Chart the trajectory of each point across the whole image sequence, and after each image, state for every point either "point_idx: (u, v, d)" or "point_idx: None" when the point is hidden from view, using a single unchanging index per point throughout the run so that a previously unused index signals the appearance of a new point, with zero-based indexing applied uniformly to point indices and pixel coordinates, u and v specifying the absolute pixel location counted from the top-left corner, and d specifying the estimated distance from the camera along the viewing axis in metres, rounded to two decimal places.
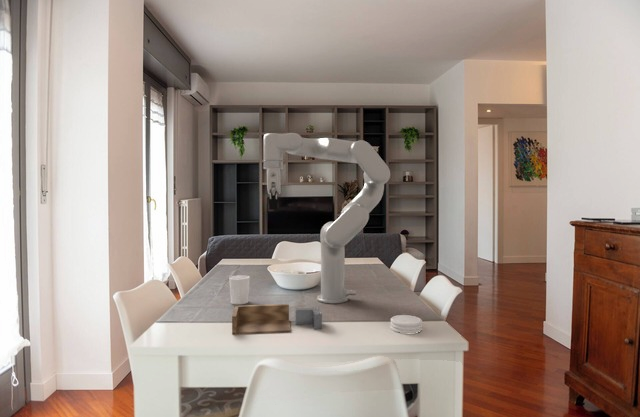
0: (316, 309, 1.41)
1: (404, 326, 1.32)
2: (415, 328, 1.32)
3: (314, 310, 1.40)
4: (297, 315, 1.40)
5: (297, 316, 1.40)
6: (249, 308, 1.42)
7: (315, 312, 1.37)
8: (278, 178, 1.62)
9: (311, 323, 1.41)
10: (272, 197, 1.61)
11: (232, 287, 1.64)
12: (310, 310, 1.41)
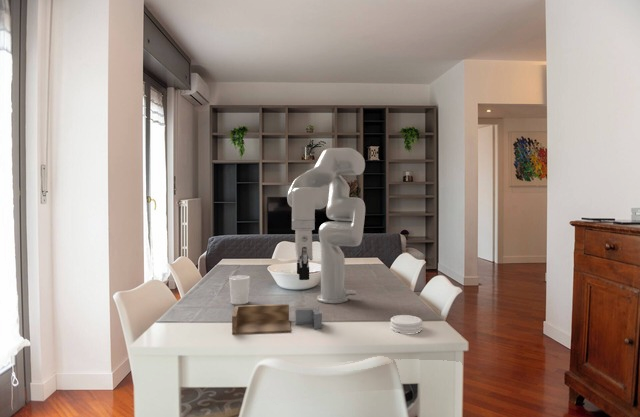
0: (316, 309, 1.41)
1: (404, 326, 1.32)
2: (415, 328, 1.32)
3: (314, 310, 1.40)
4: (297, 315, 1.40)
5: (297, 316, 1.40)
6: (249, 308, 1.42)
7: (315, 312, 1.37)
8: (310, 242, 1.36)
9: (311, 323, 1.41)
10: (303, 265, 1.34)
11: (232, 287, 1.64)
12: (310, 310, 1.41)
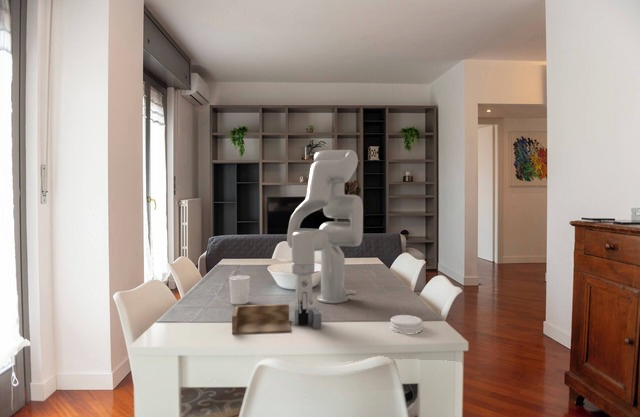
0: (315, 309, 1.41)
1: (404, 326, 1.32)
2: (415, 328, 1.32)
3: (313, 310, 1.39)
4: (296, 315, 1.40)
5: (296, 316, 1.40)
6: (249, 308, 1.42)
7: (314, 312, 1.37)
8: (310, 287, 1.36)
9: (310, 323, 1.41)
10: (302, 312, 1.38)
11: (232, 287, 1.64)
12: (309, 310, 1.40)
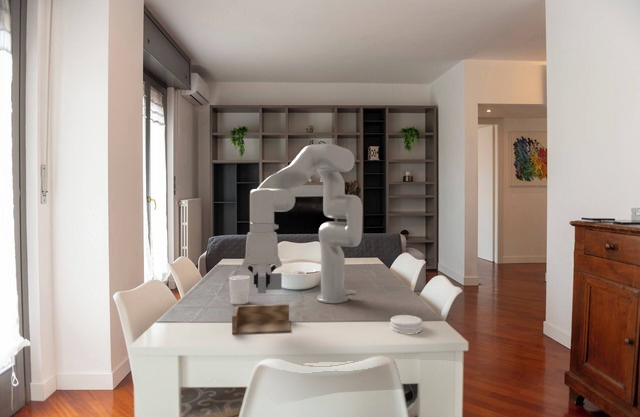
0: (265, 273, 1.37)
1: (404, 326, 1.32)
2: (415, 328, 1.32)
3: None
4: (265, 282, 1.31)
5: (265, 283, 1.31)
6: (249, 308, 1.42)
7: (276, 273, 1.37)
8: None
9: (265, 288, 1.36)
10: (272, 271, 1.34)
11: (232, 287, 1.64)
12: (265, 275, 1.35)
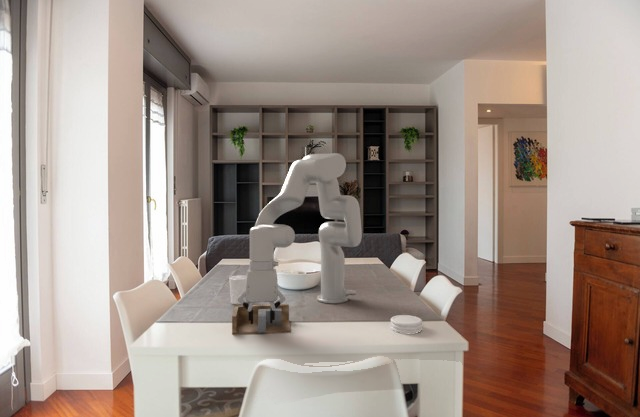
0: (265, 309, 1.38)
1: (404, 326, 1.32)
2: (415, 328, 1.32)
3: (269, 310, 1.37)
4: (265, 321, 1.31)
5: (265, 322, 1.31)
6: None
7: (276, 310, 1.37)
8: None
9: (265, 325, 1.36)
10: None
11: (232, 287, 1.64)
12: (265, 312, 1.36)
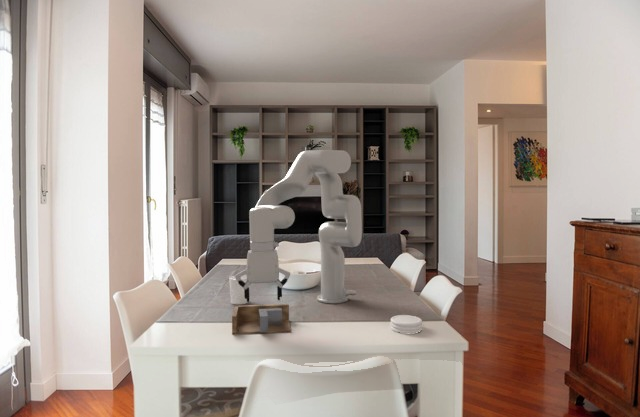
0: (266, 309, 1.38)
1: (404, 326, 1.32)
2: (415, 328, 1.32)
3: (269, 310, 1.37)
4: (267, 321, 1.32)
5: (267, 322, 1.32)
6: (249, 308, 1.42)
7: (276, 309, 1.38)
8: None
9: None
10: None
11: (232, 287, 1.64)
12: None
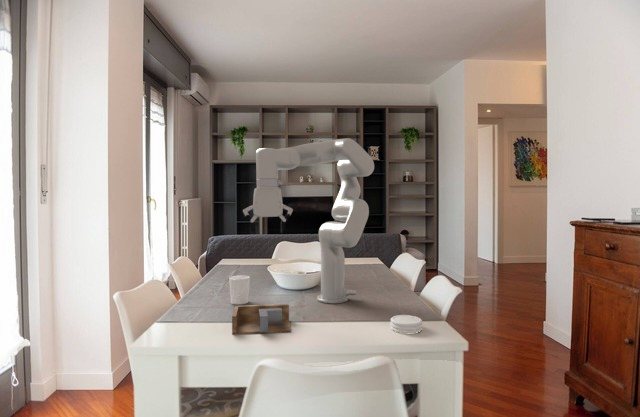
0: (266, 309, 1.38)
1: (404, 326, 1.32)
2: (415, 328, 1.32)
3: (269, 310, 1.37)
4: (267, 321, 1.32)
5: (267, 322, 1.32)
6: (249, 308, 1.42)
7: (276, 309, 1.38)
8: None
9: None
10: None
11: (232, 287, 1.64)
12: None
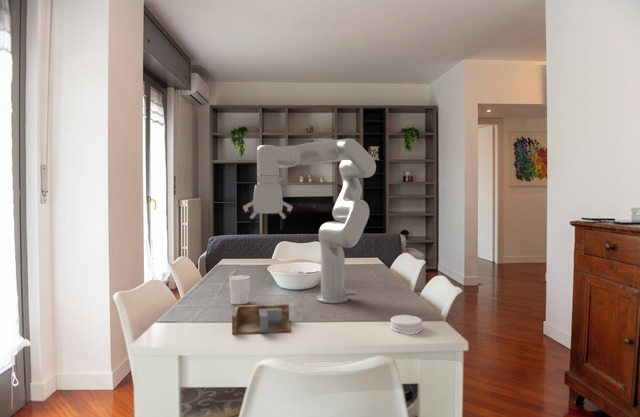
0: (266, 309, 1.38)
1: (404, 326, 1.32)
2: (415, 328, 1.32)
3: (269, 310, 1.37)
4: (267, 321, 1.32)
5: (267, 322, 1.32)
6: (249, 308, 1.42)
7: (276, 309, 1.38)
8: None
9: None
10: (286, 216, 1.50)
11: (232, 287, 1.64)
12: None
